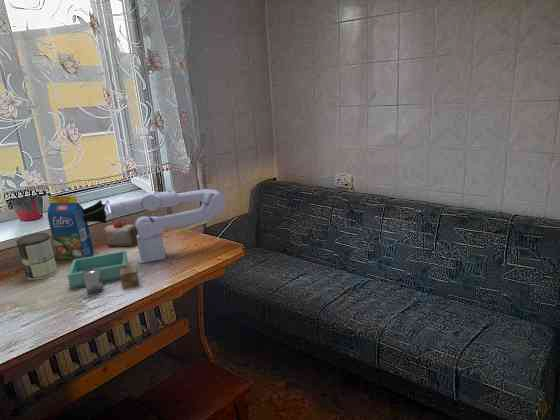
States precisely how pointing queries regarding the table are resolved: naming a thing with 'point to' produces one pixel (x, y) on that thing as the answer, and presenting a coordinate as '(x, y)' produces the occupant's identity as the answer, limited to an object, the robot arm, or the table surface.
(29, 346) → the table surface
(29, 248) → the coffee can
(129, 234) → the food item
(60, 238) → the blue food package
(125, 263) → the tote
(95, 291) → the metal cylinder
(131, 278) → the walnut cube
